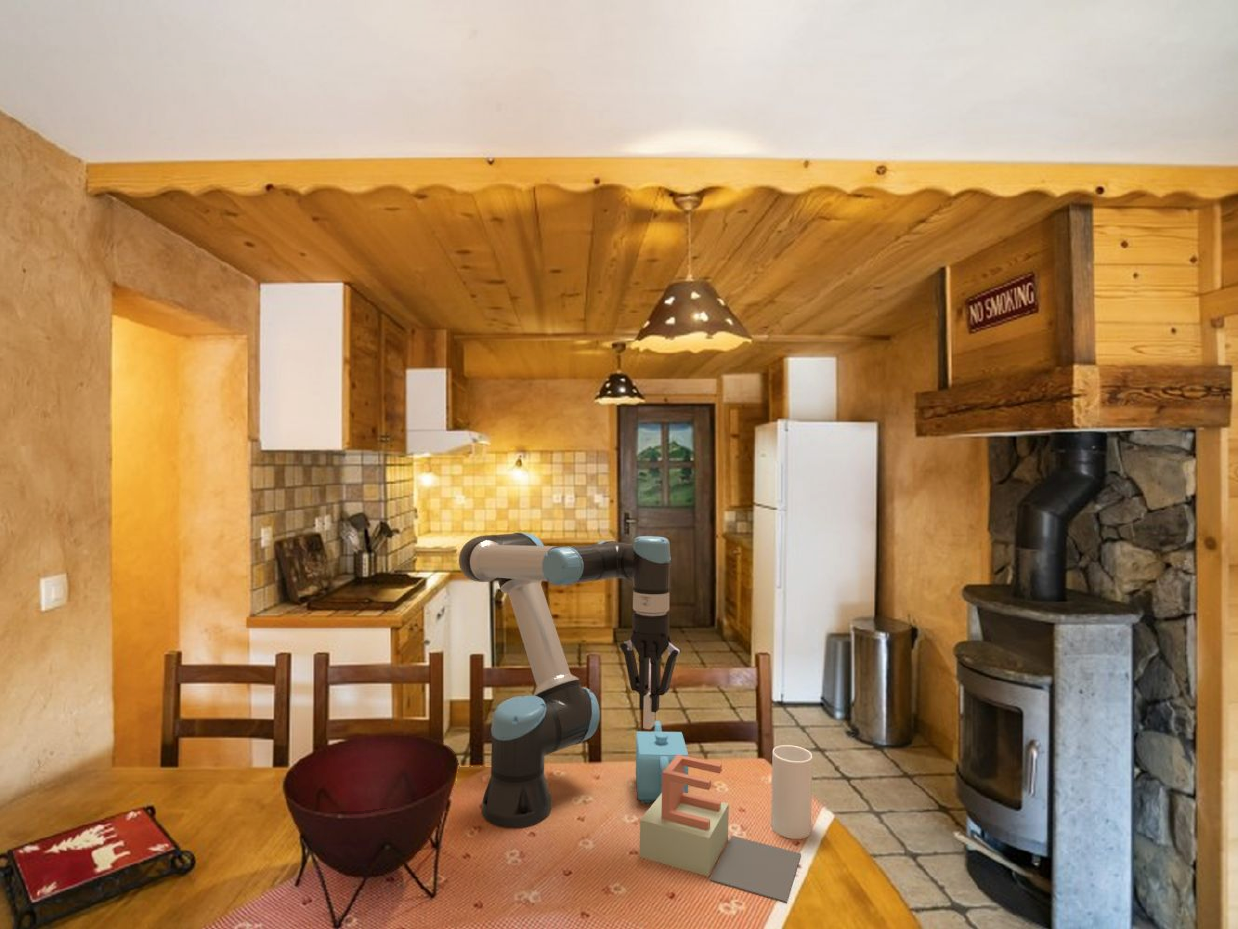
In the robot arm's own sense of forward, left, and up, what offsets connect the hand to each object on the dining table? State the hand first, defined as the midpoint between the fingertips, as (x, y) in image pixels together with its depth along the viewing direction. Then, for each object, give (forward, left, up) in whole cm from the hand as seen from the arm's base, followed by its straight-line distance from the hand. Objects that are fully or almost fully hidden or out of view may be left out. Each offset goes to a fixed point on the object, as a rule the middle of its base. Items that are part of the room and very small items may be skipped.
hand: (648, 726), depth 134 cm
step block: (+8, 0, -23) cm, 24 cm away
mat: (+23, 0, -23) cm, 32 cm away
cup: (+26, +17, -23) cm, 39 cm away
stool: (+10, 0, -16) cm, 18 cm away
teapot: (-5, +20, -23) cm, 31 cm away
